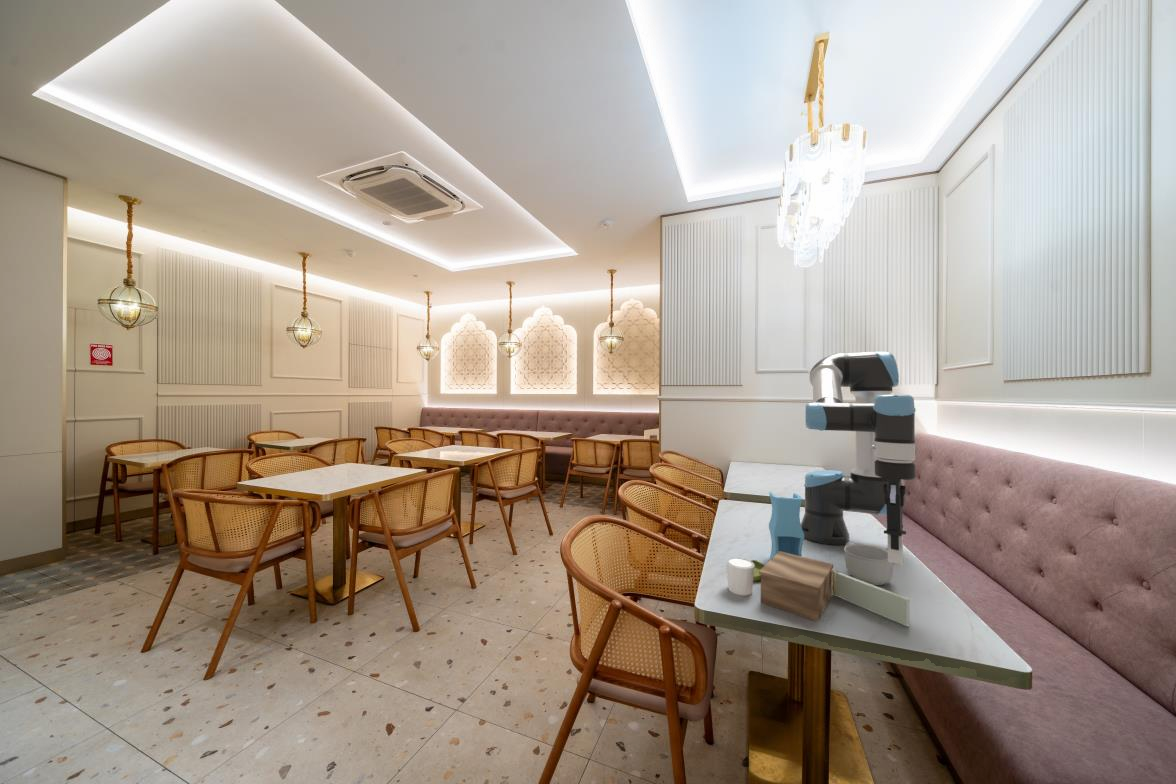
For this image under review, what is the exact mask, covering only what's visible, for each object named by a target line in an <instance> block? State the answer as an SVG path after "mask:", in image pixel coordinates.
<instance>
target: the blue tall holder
mask: <svg viewBox="0 0 1176 784" xmlns="http://www.w3.org/2000/svg"><path fill="white" fill-rule="evenodd" d="M768 494H769V497H770V502H771V508H772V509H771V515H770V520H769V523H768V530H769V533H770V539H771V549H770V550H771V551H770V557H769V559H770V560H771V559H772V558H773V557H774V556H775V555H776V554H777V553H778V552H779V551H781V552H785V553H789V554H793V555H798V556H802V557H803V554H802V553H803V552H802V551H803V545H804V541H805V538H804V533H803V530H802V527H801V518H800V512H801V506H802V502H803V498H802V497H801V496H800V495H799V494H798V492H797V493H796V492H793V495H792V497H780V496H776V495H775V494H774V492H772V491H768Z"/></svg>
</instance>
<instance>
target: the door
mask: <svg viewBox="0 0 1176 784" xmlns="http://www.w3.org/2000/svg"><path fill="white" fill-rule="evenodd" d="M832 595H833V596H836V597H839V598H841V599H843V600H845V601H848V602H849V603H850V602H851V603H852V604H855V605H857V606H859V607H862V608H864V609H865V610H869V611H871V612H874V613H876V614H878V615H881V616H883V617H884V618H887V619H890V620H892V621H894V622H896V623H899V624H902V625H904V626H906V627H908V626H909V625H910V622H911V620H910V618H911V617H910V598H908V597H906V596H904V595H901V594H898V593H895V592H893V591H891V590H887V589H885V588H882V587H879V586H878V585H872V584H869V583H866V582H864V581H861V580H858V579H856V578H854V577H853V576H851V575H848V574H845V573H842V572H839V571H836V570H832Z"/></svg>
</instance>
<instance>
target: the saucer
mask: <svg viewBox="0 0 1176 784" xmlns="http://www.w3.org/2000/svg"><path fill="white" fill-rule="evenodd" d="M750 561H751V562H753V563H754V564H755V567H754V577H753V582H755V581H761V574H759V571H760V570H761V569H762V568H763V567H764V566H765V565H766V564H764V563H762V562H760V561H758V560H756V559H755V560H754V559H752V560H751V559H750Z"/></svg>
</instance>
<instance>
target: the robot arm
mask: <svg viewBox="0 0 1176 784" xmlns="http://www.w3.org/2000/svg"><path fill="white" fill-rule="evenodd" d="M899 378H900V377H899V368H898V365H897V361H896V358H895V356H894V354H893V353H891V352H889V351H866V352H865V351H862V352H861V351H860V352H849V353H848V352H845V353H843V352H842V353H834V354H831V355H828V356H826V357H824V358H822V359H820V360H819V361H817V362H816V363H815V364H814V365H813V366H812V368H811V370H810V371H809V382H810V385H811V386H812V402H809V403H808V402H807V403H806V404H805V426H806V428H807V429H809V430H815V431H834V432H835V431H840V432H843V431H844V432H855V467H853V468H852V469H851V470H850V475H849V476H848V475H844V472H843V471H841V470H833V469H828V470H827V469H825V470H814V471H809V472H808V473H806V474H805V475H804V486H803V487H804V515H803V517H802V520H801V521H800V523H801V527H802V530H803V533H804V540H809V541H811V542H814V543H819V544H824V545H830V546H832V545H834V546H835V545H836V546H843V545H844V546H845V545H846V543H848V542H850V533H849V530H848V527H847V525H846V522H845V519H844V511H846V512H848V511H849V512H856V513H864V514H870V515H871V514H872V515H875V516H878V515H882V516H886V529H884V531H883V534H885V535H887V551H888V562H891V563H893V564H896V565H901V566H903V565H904V550H903V549H904V543H903V542H904V541H903V539H904V537H903V536H904V535H907V530H903V529H904V525H903V507H904V504H905V495H906V490H907V488H906V487H907V486H906V485H902V483H903V482H902V480H903V481H911V480H915V478H916V464H915V463H914V461H915V460H916V443H915V442H916V440H915V427H916V426H915V414H916V408H915V399H914V397H913V396H912V395H910V394H892V393H893V387H894V388H895V387H897V386H899V384H900V381H899ZM842 387H843V388H846V387H847V388H849V393H850V394H852V396H854V397H855V402H854V403H853V402H844V398H843V393H842Z"/></svg>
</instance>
